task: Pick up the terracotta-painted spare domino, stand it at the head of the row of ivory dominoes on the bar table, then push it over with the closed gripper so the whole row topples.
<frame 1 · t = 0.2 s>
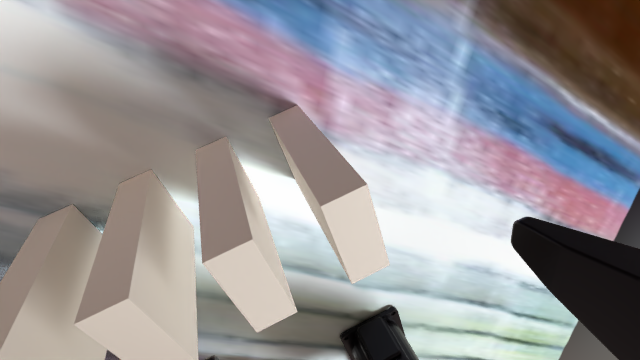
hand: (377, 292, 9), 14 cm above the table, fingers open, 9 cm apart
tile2: (296, 144, 23), on the table
tile4: (159, 206, 22), on the table
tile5: (85, 240, 21), on the table
tile3: (229, 174, 22), on the table
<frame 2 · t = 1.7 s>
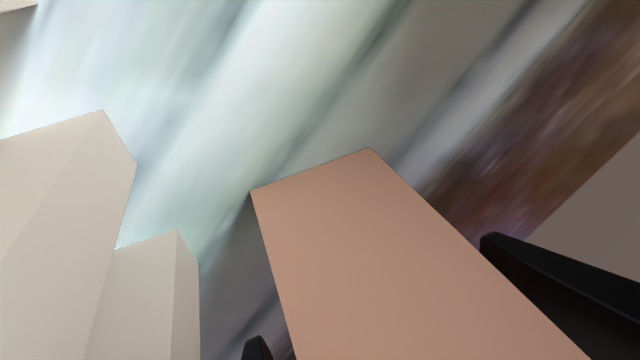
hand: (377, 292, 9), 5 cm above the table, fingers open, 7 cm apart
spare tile: (316, 188, 14), on the table
tile4: (36, 165, 10), on the table
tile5: (124, 263, 13), on the table, touching gripper
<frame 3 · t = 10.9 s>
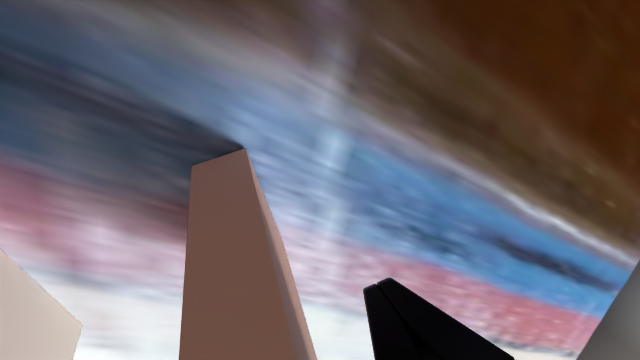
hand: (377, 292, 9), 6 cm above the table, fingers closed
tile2: (12, 297, 12), on the table
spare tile: (242, 209, 14), on the table, touching gripper
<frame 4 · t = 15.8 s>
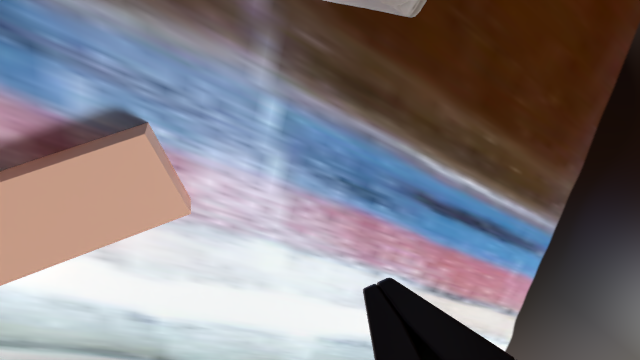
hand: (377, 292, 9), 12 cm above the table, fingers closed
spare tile: (170, 168, 18), point 1 cm above the table, tilted 90°
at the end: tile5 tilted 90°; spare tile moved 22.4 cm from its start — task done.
